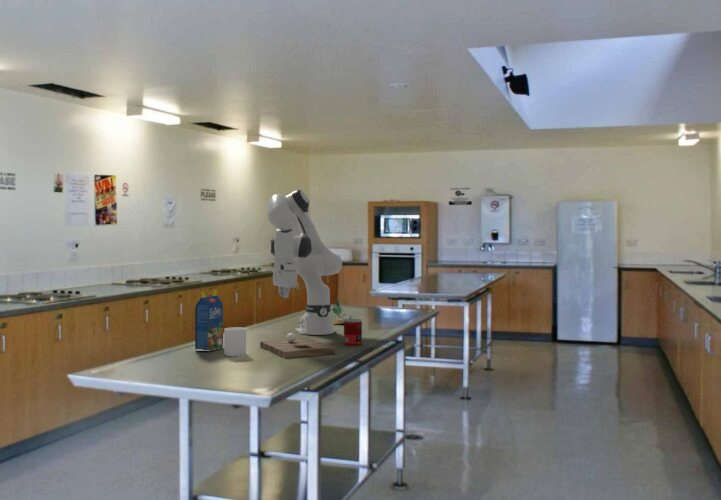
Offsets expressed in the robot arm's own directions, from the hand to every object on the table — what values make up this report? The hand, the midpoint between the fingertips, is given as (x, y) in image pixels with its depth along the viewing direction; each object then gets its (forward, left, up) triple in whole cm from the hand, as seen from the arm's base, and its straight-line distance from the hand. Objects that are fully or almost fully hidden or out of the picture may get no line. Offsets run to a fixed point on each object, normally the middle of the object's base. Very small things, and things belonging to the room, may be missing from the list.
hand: (284, 297), depth 304 cm
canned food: (+11, +28, -21) cm, 37 cm away
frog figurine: (-52, +52, -22) cm, 77 cm away
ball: (+8, 0, -17) cm, 18 cm away
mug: (+12, -25, -21) cm, 35 cm away
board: (+14, 0, -21) cm, 25 cm away
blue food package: (-4, -32, -21) cm, 39 cm away
